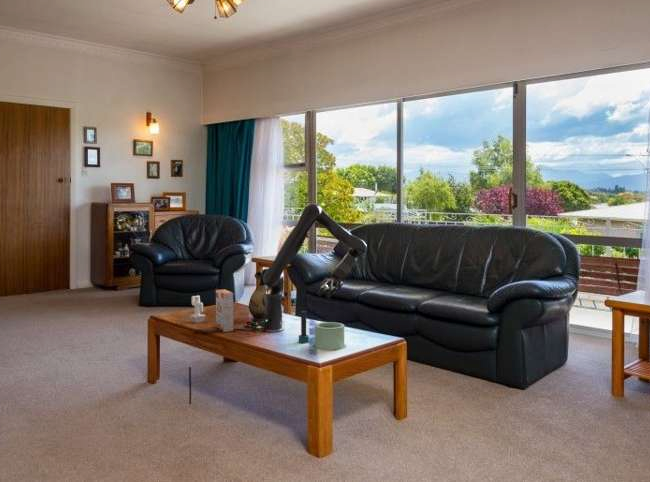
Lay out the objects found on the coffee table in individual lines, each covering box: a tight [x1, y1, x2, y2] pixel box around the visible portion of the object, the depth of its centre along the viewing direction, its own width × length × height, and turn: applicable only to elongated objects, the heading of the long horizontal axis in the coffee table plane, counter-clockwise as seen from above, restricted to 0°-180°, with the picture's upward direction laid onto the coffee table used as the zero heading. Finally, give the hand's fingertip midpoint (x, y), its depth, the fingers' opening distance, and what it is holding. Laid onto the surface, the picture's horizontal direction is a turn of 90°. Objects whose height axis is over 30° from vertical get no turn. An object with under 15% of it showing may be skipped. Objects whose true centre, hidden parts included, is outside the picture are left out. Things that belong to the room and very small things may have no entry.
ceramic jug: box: [248, 267, 269, 321], centre depth 333 cm, size 17×15×30 cm
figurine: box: [188, 295, 207, 323], centre depth 325 cm, size 7×9×15 cm
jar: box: [314, 321, 345, 351], centre depth 269 cm, size 14×14×10 cm
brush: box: [298, 310, 310, 344], centre depth 277 cm, size 5×5×15 cm
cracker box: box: [215, 289, 234, 333], centre depth 304 cm, size 14×6×21 cm, turn 27°
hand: (323, 296), depth 284 cm, fingers open, 8 cm apart
